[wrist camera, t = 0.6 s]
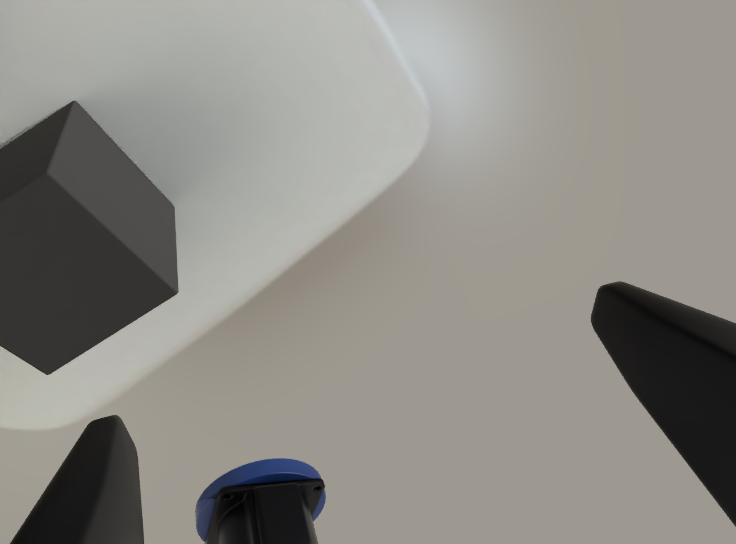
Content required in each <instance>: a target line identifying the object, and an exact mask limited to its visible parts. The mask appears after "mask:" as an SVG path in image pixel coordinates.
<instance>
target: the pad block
mask: <svg viewBox="0 0 736 544" xmlns="http://www.w3.org/2000/svg"><path fill="white" fill-rule="evenodd" d="M177 293H178V273H177V252H176V231H175V210H174V206H173V205H172V204H171V202H170V201H169V200H168V199H167V198H166V197H165V196H164V195H163V194H162V193H161V192H160V191H159V190H158V189H157V187H156V186H155V185H154V184H153V183H152V182H151V181H150V180H149V179H148V178H147V177H146V176H145V175H144V173H143V172H142V171H141V170H140V169H139V168H138V167H137V166H136V165H135V164H134V163H133V162H132V161H131V160H130V158H129V157H128V156H127V155H126V154H125V153H124V152H123V151H122V150H121V149H120V148H119V147H118V146H117V144H116V143H115V142H114V141H113V140H112V139H111V138H110V137H109V136H108V135H107V134H106V133H105V132H104V131H103V129H102V128H101V127H100V126H99V125H98V124H97V123H96V122H95V121H94V120H93V119H92V118H91V117H90V115H89V114H88V113H87V112H86V111H85V110H84V109H83V108H82V107H81V106H80V105H79V104H78V103H77V102H76V101H72V102H71V103H69V104H68V105H66V106H65V107H63V108H62V109H60V110H59V111H57V112H56V113H54V114H53V115H51V116H50V117H48V118H47V119H45V120H44V121H42V122H41V123H39V124H38V125H36V126H35V127H33V128H32V129H30V130H29V131H27V132H26V133H24V134H23V135H21V136H20V137H18V138H17V139H15V140H14V141H12V142H11V143H9V144H7V145H6V146H4V147H3V148H1V149H0V346H1V347H3V348H5V349H6V350H8V351H9V352H11V353H13V354H14V355H16V356H17V357H19V358H21V359H22V360H24V361H25V362H27V363H29V364H30V365H32V366H33V367H35V368H36V369H38V370H40V371H41V372H43V373H44V374H46V375H49V374H51V373H52V372H54V371H56V370H57V369H59V368H60V367H62V366H64V365H65V364H67V363H68V362H70V361H71V360H73V359H75V358H76V357H78V356H79V355H81V354H83V353H84V352H86V351H87V350H89V349H91V348H92V347H94V346H95V345H97V344H98V343H100V342H102V341H103V340H105V339H106V338H108V337H110V336H111V335H113V334H114V333H116V332H117V331H119V330H121V329H122V328H124V327H125V326H127V325H129V324H130V323H132V322H133V321H135V320H137V319H138V318H140V317H141V316H143V315H144V314H146V313H148V312H149V311H151V310H152V309H154V308H156V307H157V306H159V305H160V304H162V303H163V302H165V301H167V300H168V299H170V298H171V297H173V296H175V295H176V294H177Z"/></svg>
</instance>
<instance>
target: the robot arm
mask: <svg viewBox="0 0 736 544" xmlns="http://www.w3.org/2000/svg"><path fill="white" fill-rule="evenodd" d="M591 323H592V326H593V328H594V330H595V332H596V333H597V335H598V337H599V338H600V340H601V342H602V343H603V345H604V347H605V348H606V350H607V351H608V353H609V355H610V356H611V358H612V360H613V361H614V363H615V364H616V366H617V368H618V369H619V371H620V373H621V374H622V376H623V377H624V379H625V381H626V382H627V384H628V385H629V387H630V388H631V390H632V391H633V393H634V394H635V395H636V397H637V398H638V400H639V401H640V402H641V403H642V405H643V406H644V407H645V409H646V410H647V411H648V413H649V414H650V415H651V417H652V418H653V419H654V420H655V422H656V423H657V424H658V426H659V427H660V428H661V430H662V431H663V432H664V433H665V435H666V436H667V438H668V439H669V440H670V441H671V443H672V444H673V445H674V447H675V448H676V449H677V451H678V452H679V453H680V455H681V456H682V457H683V458H684V460H685V461H686V462H687V464H688V465H689V466H690V468H691V469H692V470H693V472H694V473H695V474H696V475H697V477H698V478H699V479H700V481H701V482H702V483H703V485H704V486H705V487H706V488H707V490H708V491H709V492H710V494H711V495H712V496H713V498H714V499H715V500H716V501H717V503H718V504H719V506H720V507H721V508H722V509H723V511H724V512H725V513H726V515H727V516H728V517H729V519H730V520H731V521H732V523H733V524H734V525H735V526H736V323H733V322H731V321H728V320H725V319H723V318H719V317H717V316H714V315H712V314H709V313H706V312H704V311H701V310H698V309H695V308H693V307H690V306H687V305H684V304H682V303H679V302H676V301H674V300H671V299H668V298H666V297H663V296H660V295H657V294H655V293H652V292H649V291H646V290H644V289H641V288H638V287H635V286H633V285H630V284H627V283H624V282H614V283H610V284H606V285H603V286H601V287H600V288H599V289H598V292H597V295H596V299H595V303H594V307H593V311H592V314H591ZM324 488H325V485H324V482H323V480H322V479H321V478H312V479H300V480H289V481H277V482H266V483H254V484H243V485H231V486H224V487H222V488H221V489H219V490H218V493H217V497H216V501H215V505H214V509H213V513H212V517H211V520H210V524H209V528H208V532H207V536H206V540H205V544H318V541H317V537H316V534H315V529H314V524H313V520H312V518H313V515H314V513H315V510H316V508H317V505H318V503H319V500H320V498H321V496H322V493H323V491H324ZM143 534H144V533H143V519H142V506H141V493H140V480H139V466H138V456H137V451H136V447H135V445H134V442H133V441H132V439H131V437H130V435H129V433H128V431H127V429H126V427H125V425H124V423H123V421H122V419H121V418H120V417H119V416H117V415H112V416H108V417H104V418H101V419H97V420H93V421H92V422H90V423H89V424H88V425H87V427H86V428H85V430H84V432H83V433H82V434H81V436H80V438H79V439H78V441H77V442H76V444H75V445H74V447H73V448H72V450H71V451H70V453H69V455H68V456H67V457H66V459H65V461H64V462H63V463H62V465H61V467H60V468H59V470H58V472H57V473H56V474H55V476H54V477H53V479H52V480H51V482H50V483H49V485H48V486H47V488H46V490H45V491H44V493H43V494H42V496H41V497H40V499H39V500H38V502H37V503H36V505H35V506H34V508H33V509H32V511H31V512H30V514H29V515H28V517H27V518H26V520H25V522H24V523H23V525H22V526H21V528H20V529H19V531H18V532H17V534H16V535H15V537H14V538H13V540H12V542H11V543H10V544H144V535H143Z"/></svg>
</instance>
